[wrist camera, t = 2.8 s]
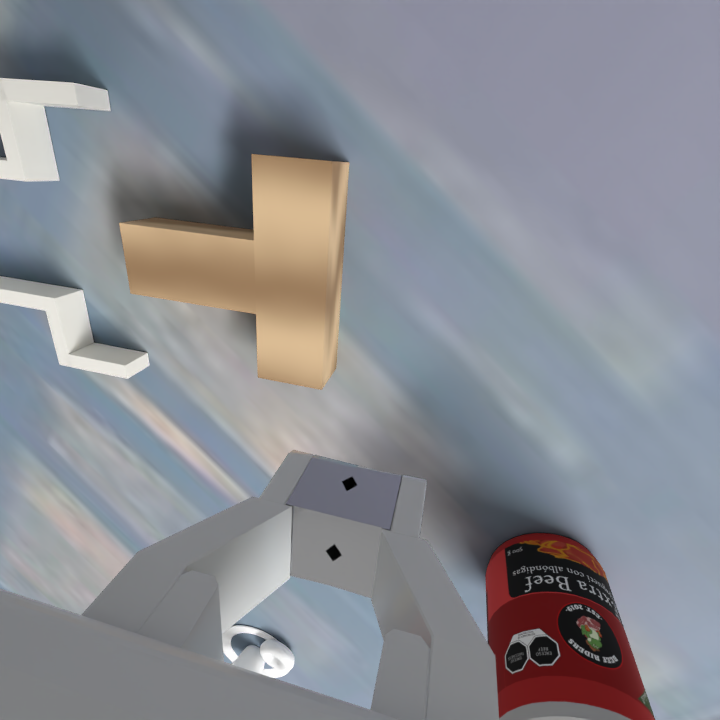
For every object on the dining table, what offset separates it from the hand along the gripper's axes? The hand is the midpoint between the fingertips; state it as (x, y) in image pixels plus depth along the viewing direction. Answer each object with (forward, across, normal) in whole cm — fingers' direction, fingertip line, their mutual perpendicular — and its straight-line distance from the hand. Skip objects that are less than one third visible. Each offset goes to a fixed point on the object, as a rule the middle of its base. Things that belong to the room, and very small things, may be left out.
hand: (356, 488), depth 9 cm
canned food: (+17, -11, +18) cm, 27 cm away
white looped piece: (+18, +9, +40) cm, 45 cm away
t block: (+16, +11, -1) cm, 20 cm away
